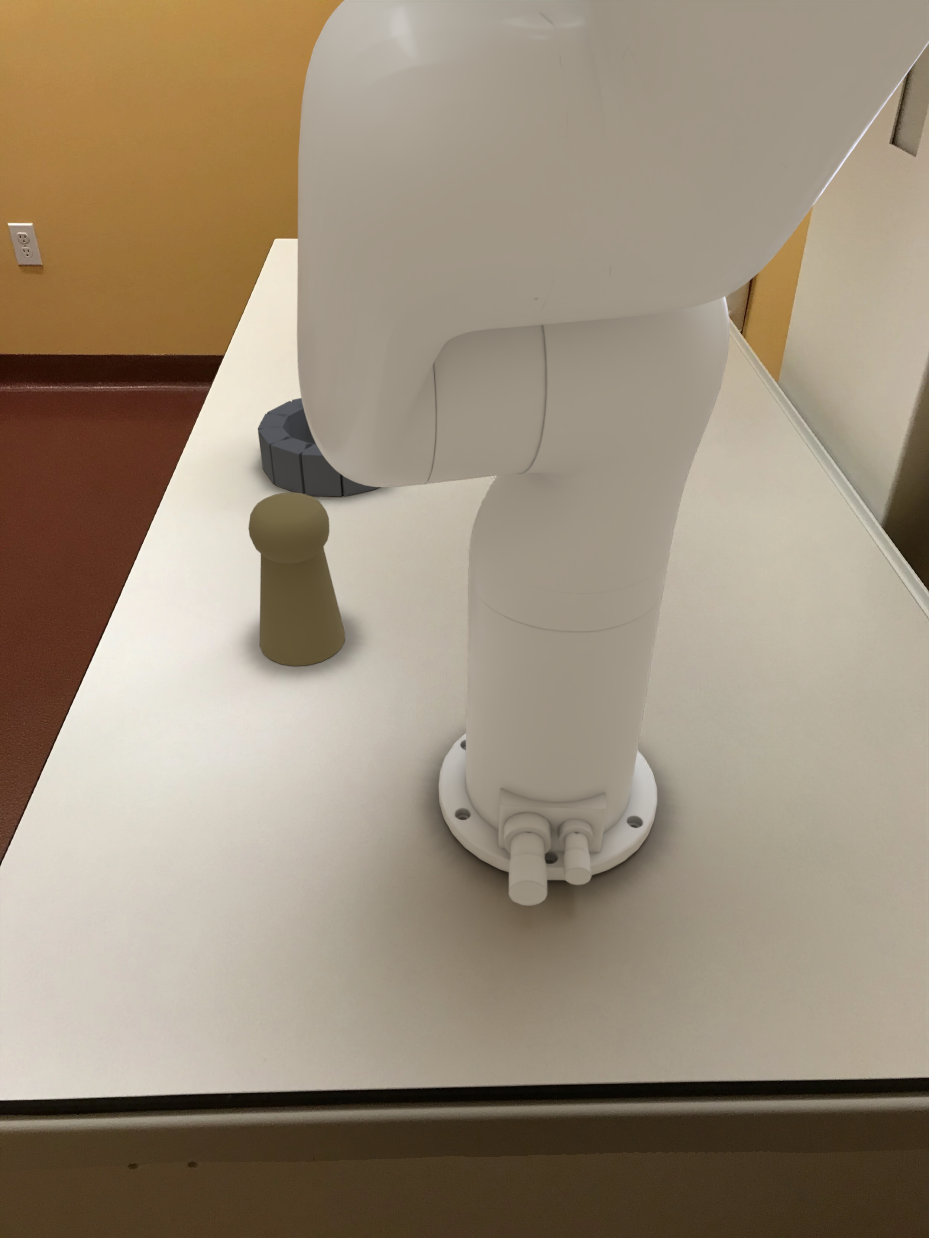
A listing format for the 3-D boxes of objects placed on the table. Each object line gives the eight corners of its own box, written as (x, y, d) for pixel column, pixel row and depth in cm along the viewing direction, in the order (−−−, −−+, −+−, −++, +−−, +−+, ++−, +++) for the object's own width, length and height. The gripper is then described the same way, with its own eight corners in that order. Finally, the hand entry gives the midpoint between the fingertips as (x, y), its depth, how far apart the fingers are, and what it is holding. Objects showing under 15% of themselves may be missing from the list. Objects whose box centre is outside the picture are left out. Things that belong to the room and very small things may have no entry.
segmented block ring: (396, 498, 84) (395, 457, 82) (250, 494, 85) (244, 452, 82) (410, 434, 95) (409, 395, 92) (280, 430, 95) (276, 392, 93)
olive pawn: (263, 672, 65) (242, 533, 58) (255, 620, 70) (234, 486, 63) (352, 657, 66) (341, 520, 60) (337, 608, 71) (326, 475, 64)
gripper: (305, -122, 58) (327, 181, 68) (420, -134, 46) (426, 239, 56) (417, -119, 61) (423, 172, 71) (555, -129, 49) (538, 225, 59)
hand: (424, 201), depth 63 cm, fingers open, 9 cm apart
